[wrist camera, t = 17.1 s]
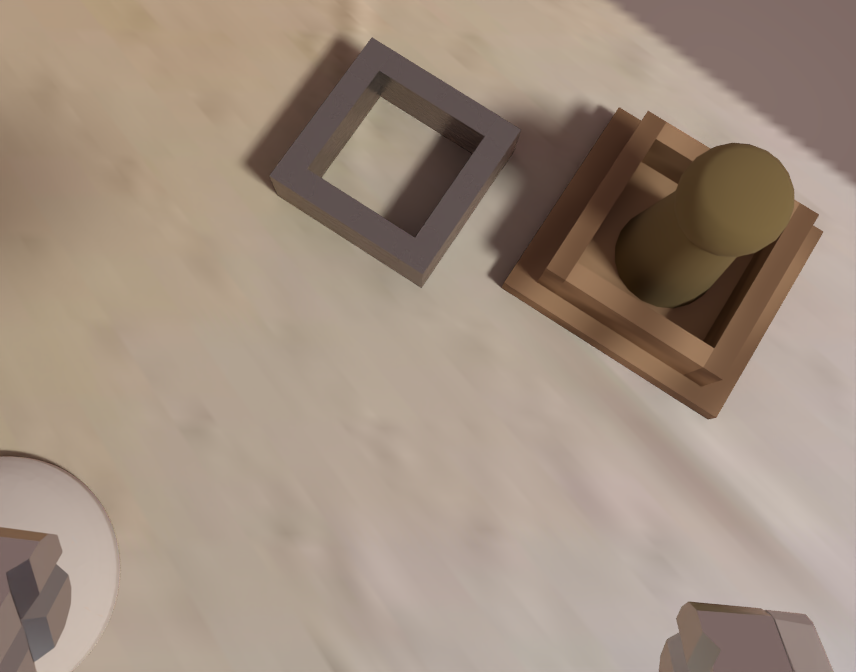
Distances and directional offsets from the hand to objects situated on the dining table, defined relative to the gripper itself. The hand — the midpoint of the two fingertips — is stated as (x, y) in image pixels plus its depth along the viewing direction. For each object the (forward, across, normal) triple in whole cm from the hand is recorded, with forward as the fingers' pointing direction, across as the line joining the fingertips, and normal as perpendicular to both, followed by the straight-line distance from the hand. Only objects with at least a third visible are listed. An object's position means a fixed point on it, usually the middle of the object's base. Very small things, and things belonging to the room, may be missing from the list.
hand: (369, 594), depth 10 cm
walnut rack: (+35, -14, +12) cm, 39 cm away
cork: (+34, -14, +12) cm, 39 cm away
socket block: (+37, +2, +10) cm, 39 cm away
